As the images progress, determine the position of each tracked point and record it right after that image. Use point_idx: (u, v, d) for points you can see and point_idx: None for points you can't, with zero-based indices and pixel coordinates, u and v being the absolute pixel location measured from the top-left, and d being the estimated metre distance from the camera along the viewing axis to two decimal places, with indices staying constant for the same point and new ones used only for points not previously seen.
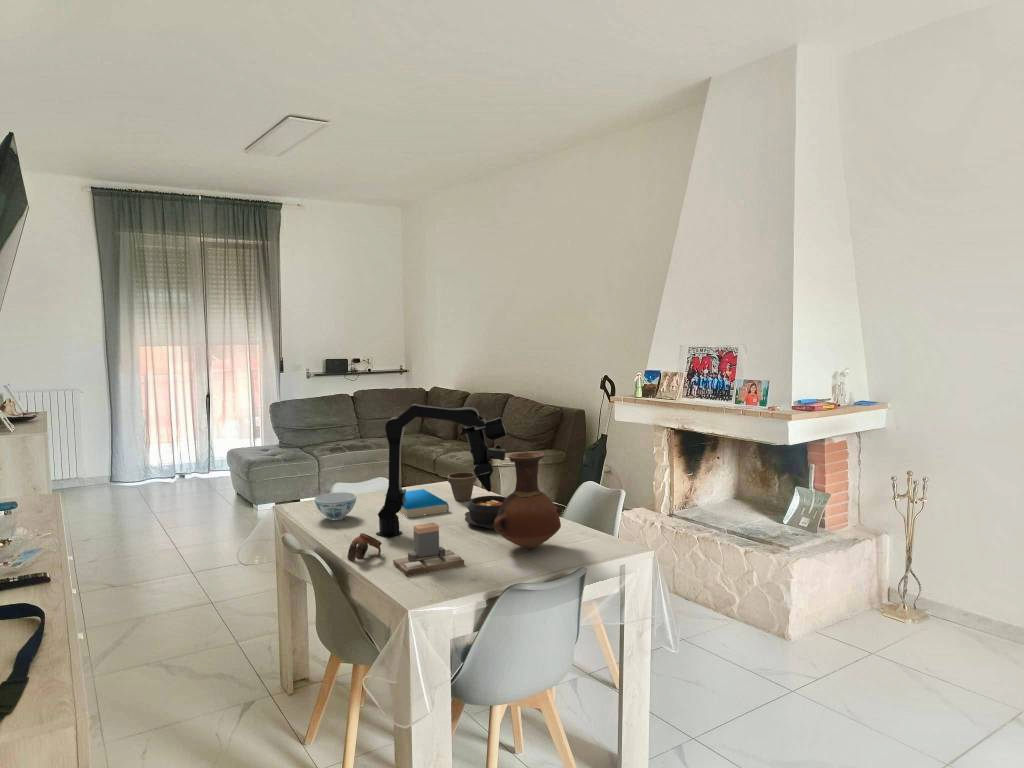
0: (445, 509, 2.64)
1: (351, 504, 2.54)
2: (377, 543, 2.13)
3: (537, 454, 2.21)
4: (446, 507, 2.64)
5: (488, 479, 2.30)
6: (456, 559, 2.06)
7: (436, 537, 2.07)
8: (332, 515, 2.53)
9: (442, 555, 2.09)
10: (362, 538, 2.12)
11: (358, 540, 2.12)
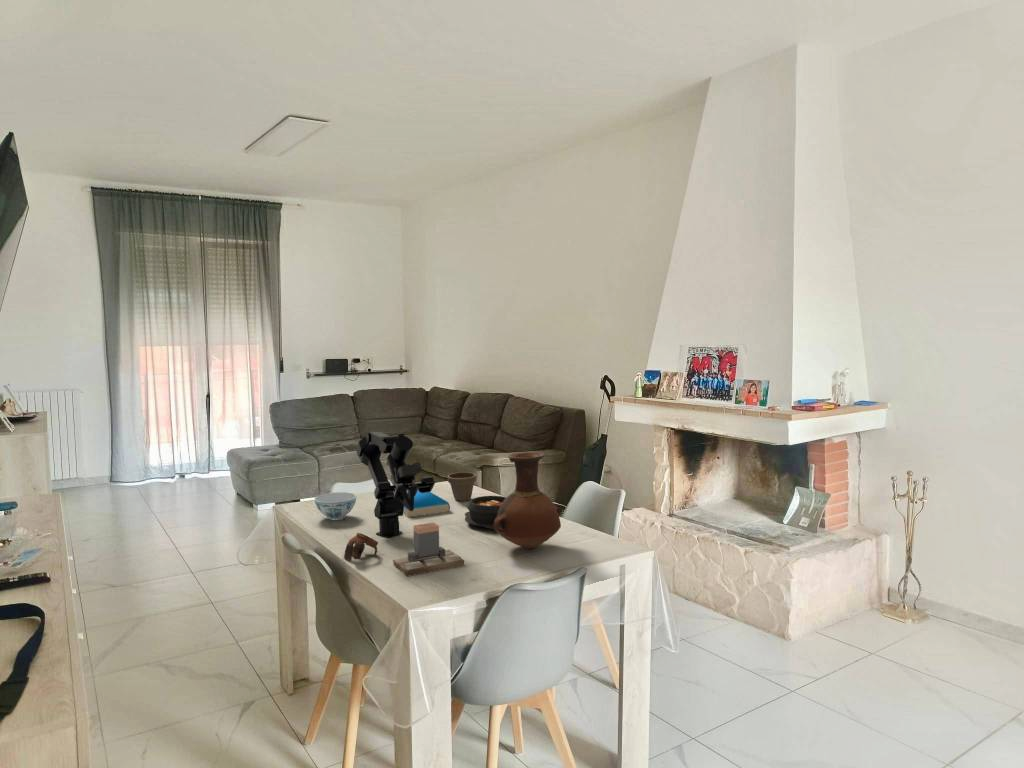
0: (446, 509, 2.65)
1: (351, 504, 2.54)
2: (374, 543, 2.13)
3: (537, 454, 2.21)
4: (447, 507, 2.65)
5: (404, 498, 2.18)
6: (456, 559, 2.06)
7: (436, 537, 2.07)
8: (332, 515, 2.53)
9: (442, 555, 2.09)
10: (359, 538, 2.13)
11: (355, 540, 2.12)
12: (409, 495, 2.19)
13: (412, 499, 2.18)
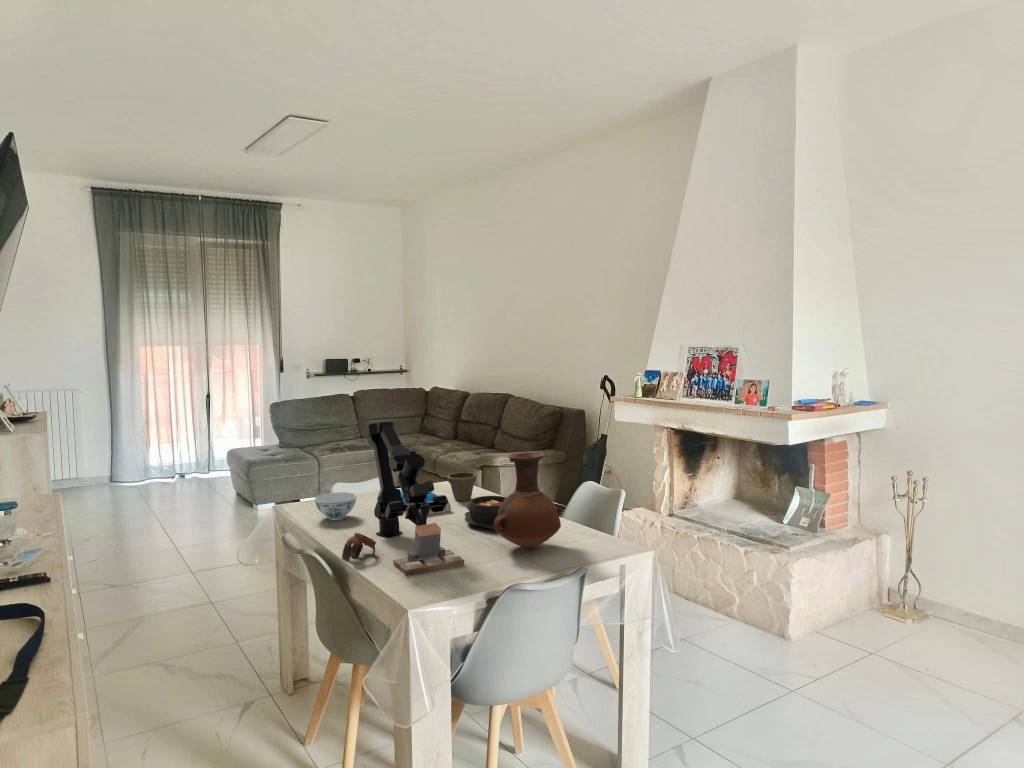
0: (447, 509, 2.65)
1: (351, 504, 2.54)
2: (372, 542, 2.14)
3: (537, 454, 2.21)
4: (448, 507, 2.65)
5: (416, 518, 2.09)
6: (456, 559, 2.06)
7: (437, 540, 2.06)
8: (332, 515, 2.53)
9: (442, 555, 2.09)
10: (357, 538, 2.13)
11: (353, 540, 2.12)
12: (421, 515, 2.11)
13: (424, 519, 2.09)
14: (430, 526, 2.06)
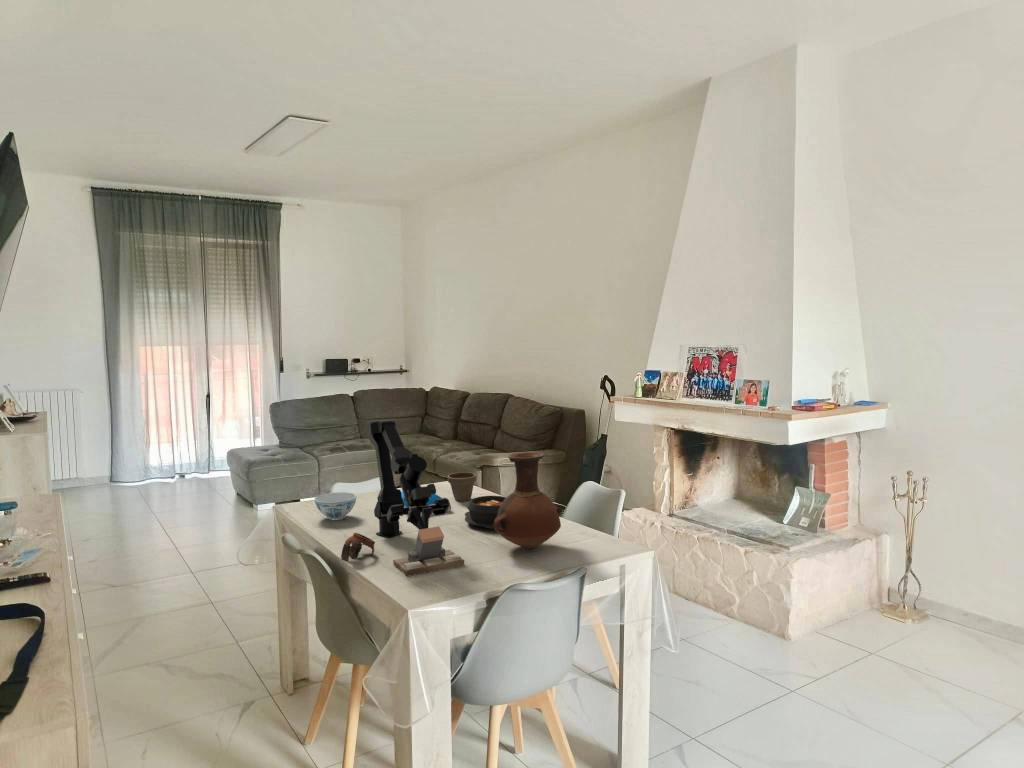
0: None
1: (351, 504, 2.54)
2: (371, 542, 2.14)
3: (537, 454, 2.21)
4: None
5: (418, 521, 2.08)
6: (456, 559, 2.06)
7: (439, 545, 2.05)
8: (332, 515, 2.53)
9: (442, 555, 2.09)
10: (356, 537, 2.13)
11: (352, 540, 2.12)
12: (423, 518, 2.10)
13: (426, 522, 2.08)
14: (433, 531, 2.04)
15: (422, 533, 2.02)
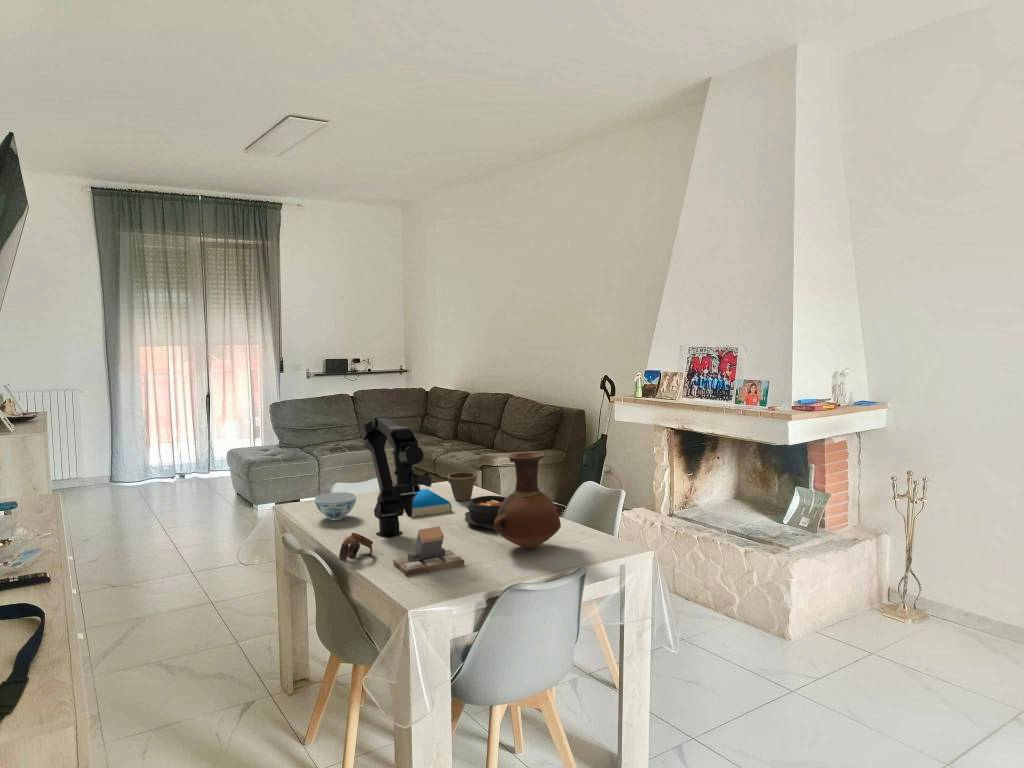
0: (448, 509, 2.65)
1: (351, 504, 2.54)
2: (369, 542, 2.14)
3: (537, 454, 2.21)
4: (449, 507, 2.65)
5: (410, 502, 2.19)
6: (456, 559, 2.06)
7: (439, 545, 2.05)
8: (332, 515, 2.53)
9: (442, 555, 2.09)
10: (354, 537, 2.13)
11: (350, 539, 2.13)
12: None
13: (412, 505, 2.21)
14: (433, 531, 2.04)
15: (422, 533, 2.02)
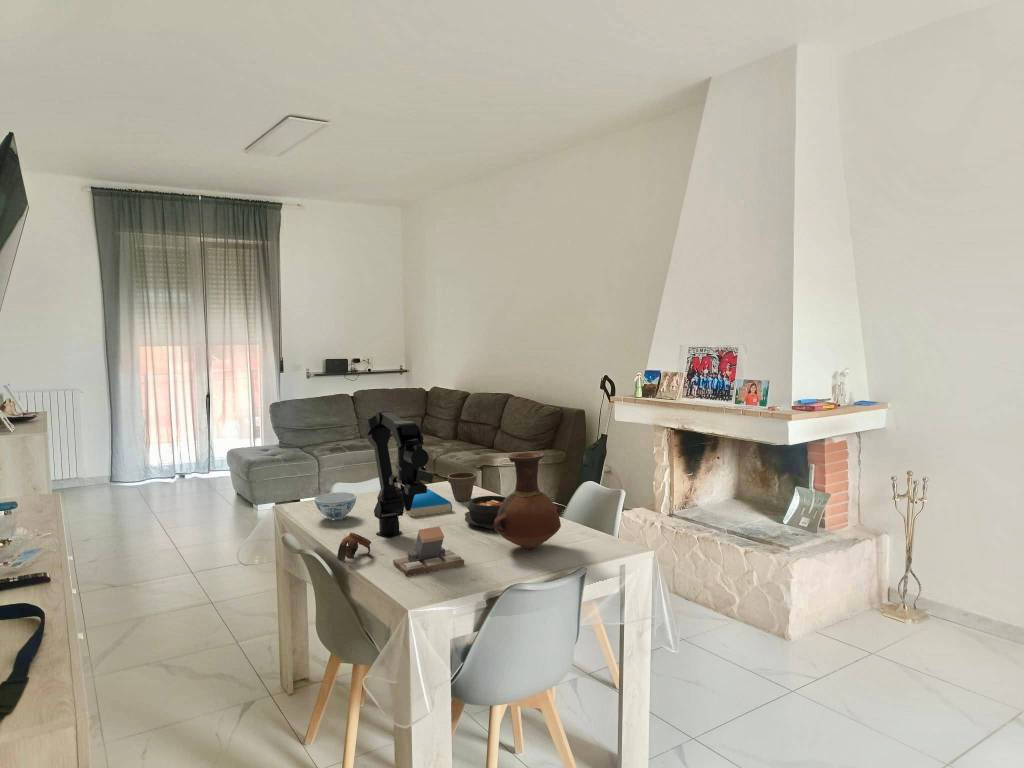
0: (448, 509, 2.65)
1: (351, 504, 2.54)
2: (367, 542, 2.14)
3: (537, 454, 2.21)
4: (449, 507, 2.65)
5: (411, 498, 2.20)
6: (456, 559, 2.06)
7: (439, 545, 2.05)
8: (332, 515, 2.53)
9: (442, 555, 2.09)
10: (352, 537, 2.13)
11: (348, 539, 2.13)
12: None
13: None
14: (433, 531, 2.04)
15: (422, 533, 2.02)
